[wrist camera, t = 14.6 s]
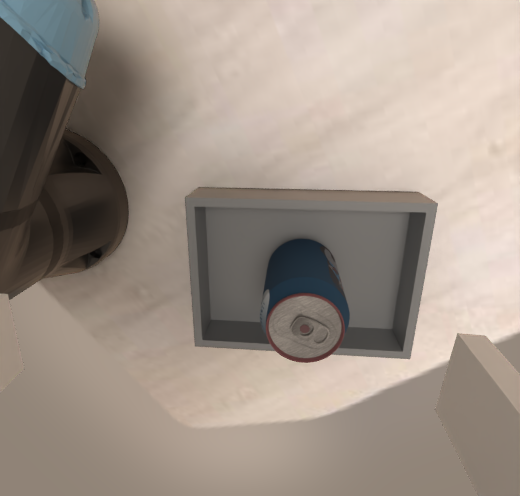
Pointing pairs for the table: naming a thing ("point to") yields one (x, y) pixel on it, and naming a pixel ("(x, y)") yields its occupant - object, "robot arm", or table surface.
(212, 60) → the table surface
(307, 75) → the table surface
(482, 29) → the table surface
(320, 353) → the soda can
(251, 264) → the bin
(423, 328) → the table surface
